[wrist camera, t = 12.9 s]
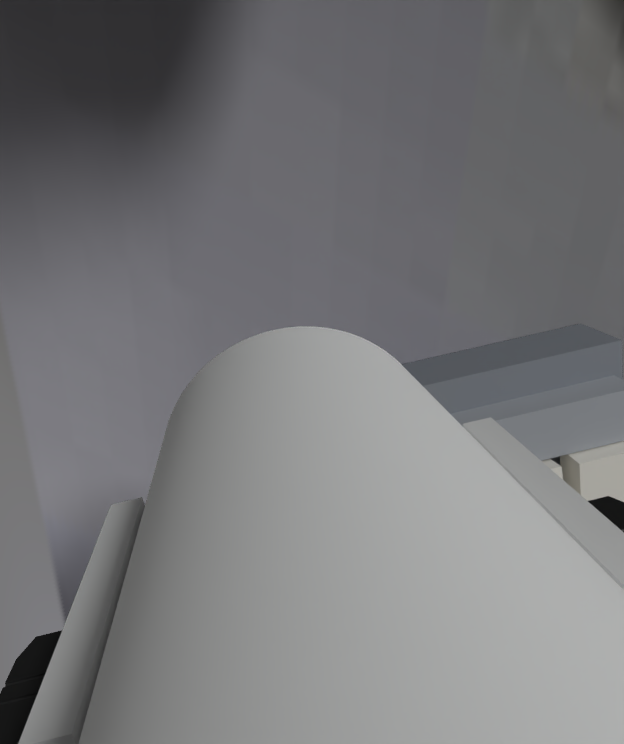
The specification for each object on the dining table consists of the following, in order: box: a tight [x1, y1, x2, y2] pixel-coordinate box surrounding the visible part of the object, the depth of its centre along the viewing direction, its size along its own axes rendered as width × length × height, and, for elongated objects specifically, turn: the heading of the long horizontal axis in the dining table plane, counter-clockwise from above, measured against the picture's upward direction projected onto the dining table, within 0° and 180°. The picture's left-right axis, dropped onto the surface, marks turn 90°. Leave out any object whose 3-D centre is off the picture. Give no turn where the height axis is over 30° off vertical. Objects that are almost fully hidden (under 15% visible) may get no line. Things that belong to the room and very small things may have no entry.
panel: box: [402, 324, 624, 502], centre depth 34 cm, size 14×22×7 cm, turn 101°
